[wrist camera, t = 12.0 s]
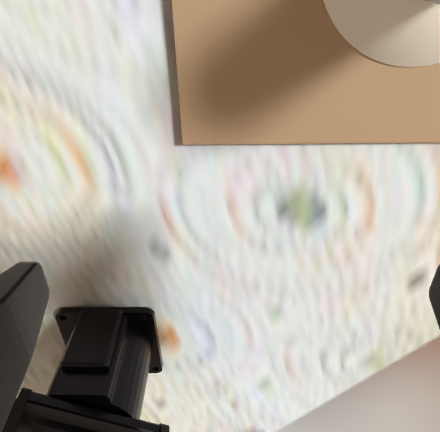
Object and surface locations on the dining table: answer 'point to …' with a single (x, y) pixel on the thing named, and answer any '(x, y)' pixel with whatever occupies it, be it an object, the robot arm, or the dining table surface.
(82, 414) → the robot arm
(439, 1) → the marker
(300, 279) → the dining table surface
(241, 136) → the kraft pad
